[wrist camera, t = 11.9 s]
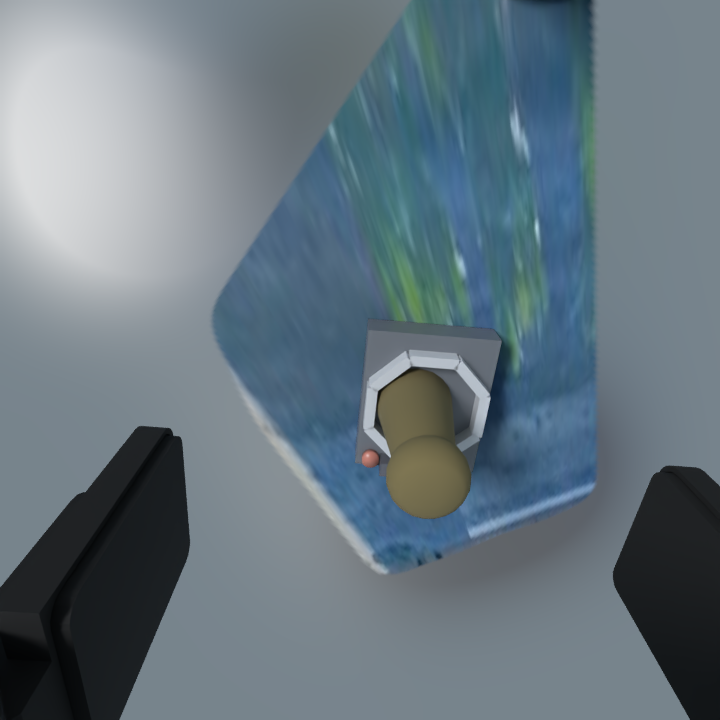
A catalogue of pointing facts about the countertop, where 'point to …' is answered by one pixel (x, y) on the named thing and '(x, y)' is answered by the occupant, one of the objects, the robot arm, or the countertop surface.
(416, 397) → the cork
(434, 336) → the octagon ring plate
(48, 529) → the robot arm
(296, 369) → the countertop surface
